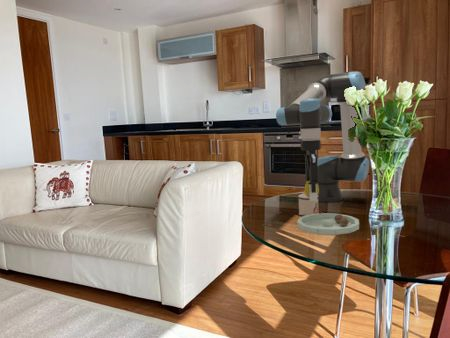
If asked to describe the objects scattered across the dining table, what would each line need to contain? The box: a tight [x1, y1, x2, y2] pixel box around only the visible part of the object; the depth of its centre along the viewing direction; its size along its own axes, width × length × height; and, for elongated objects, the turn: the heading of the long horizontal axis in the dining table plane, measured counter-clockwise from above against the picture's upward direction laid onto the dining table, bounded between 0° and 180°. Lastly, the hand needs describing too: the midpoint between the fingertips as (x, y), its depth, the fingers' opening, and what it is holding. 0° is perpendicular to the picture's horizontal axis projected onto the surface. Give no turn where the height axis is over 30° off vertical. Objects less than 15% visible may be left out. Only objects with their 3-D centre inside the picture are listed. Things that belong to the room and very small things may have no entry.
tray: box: [296, 212, 360, 236], centre depth 143 cm, size 23×23×4 cm
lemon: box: [304, 181, 319, 198], centre depth 141 cm, size 6×6×8 cm
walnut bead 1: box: [335, 213, 343, 223], centre depth 145 cm, size 4×4×4 cm
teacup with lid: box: [297, 191, 320, 216], centre depth 164 cm, size 12×9×12 cm
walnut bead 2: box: [339, 217, 349, 226], centre depth 141 cm, size 4×4×4 cm
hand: (311, 198), depth 142 cm, fingers closed on lemon, 5 cm apart
